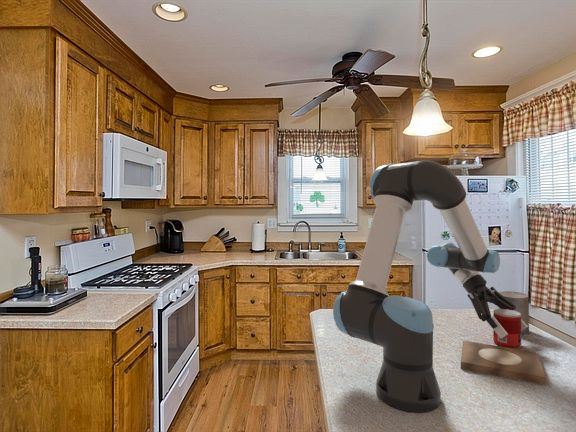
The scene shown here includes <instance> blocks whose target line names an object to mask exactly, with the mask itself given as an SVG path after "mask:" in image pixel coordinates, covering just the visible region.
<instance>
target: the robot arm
mask: <svg viewBox="0 0 576 432" xmlns="http://www.w3.org/2000/svg"><path fill="white" fill-rule="evenodd" d="M369 188H370V189H369V193H370V196H371V197H372V202H373V203H374V205H375V210H374V214H373V217H372V222H371V225H370V229H369V232H368V235H367V238H366V243H365V246H364V249H363V252H362V256H361V260H360V264H359V267H358V270H357V275H356V278H355V280H354V281H351V282H349V284H348V287H347V290H346V291H342V292H340V293H339V295H337V296H336V298H335V300H334V303H333V308H332V315H333V319H334V320H333V321H334V323H335V326H336V328H338V330H339V331H340V332H341V333H343V334H345V335H347V336H349V337H351V338H355V339H359V340H361V341H365V342H368V343H371V344H374V345H377V346H380V347H382V349H383V350H382V352H383V353H382V354H383V359H382V360H383V361H382V363H381V367H380V370H379V372H378V375H377V379H376V382H375V384H376V385H375V391H376V392H375V393H376V395H377V397H378V398H379V399H380V400H381V401H382V402H383V403H385V404H386V405H388V406H389V407H392V408H395V409H398V410H401V411H405V412H410V413H411V412H412V413H424V412H430V411H433V410H436V409H437V408H438V407H439V406H440V405H441V403H442V400H441V399H442V397H441V388H440V386H439V382H438V379H437V376H436V373H435V371H434V366H433V364H434V360H433V359H434V354H433V353H434V329H435V328H434V327H435V325H434V320H433V312H432V310H431V308H430V307H429V306H428V305H427V304H426V303H424V302H423V301H420V300H418V299H416V298H412V297H407V296H399V295H389V293H388V291H387V289H386V288H387V285H388V281H389V276H390V272H391V269H392V265H393V261H394V257H395V254H396V250H397V246H398V242H399V237H400V235H401V229H402V227H403V222H404V217H405V214H406V213H408V212H410V211H411V210H412V207H413V203H414V201H427V202H430V203H431V204H432V206H433V208H434V209H436V210H438V211H439V212H440V214H441V216H442V218H443V220H444V222H445V223H446V225H447V227H448V229H449V231H450V232H451V235H452V237H453V239H454V241H455V243H456V244H454V242H446V243H444V244H442V245H433V246H431V247H430V248H429V249H428V250H427V252H426V260H427V261H428V263H429V264H430V265H432V266H434V267H437V268H448V270H449V271H450V273H452V275H453V276H454V277H455V278H456V279H457V281H458V282H459V283H460V284H461V285H462V287H463V288H464V290H465V292H467V297H468V299H469V300H470V303H471V304H472V306H473V308H474V311H475V313H476V315H477V317H478V318H479V320H481V321H482V322H484V323H485V322H487V323H488V325H489V326H490V327H491V328H492V330H493V329H494V331H495V332H496V333H497V334H498V336H499V337H500V338H503V337H505V336H506V335H508V333H507V332H506V331H505V330H504V328H503V327H502V326H501V325H500V323H499V322H498V321H497V320H496V318H495V317H494V316H493V315H491V314H492V313H491V311H490V307H489V303H490V304H493V305H495V306H497V307H499V308H501V309H507V310H513V311H514V310H515V309H516V307H515V305H513V304H512V303H511V302H510V301H509V300H507V299H506V298H505V297H504V296H502V295H501V294H500V293H499V292H500V291H499V292H498V290H496V288H495V287H494V286H491V287H490V288H489V287H487V286H486V285H487V280H486V278H484V276H482V274H480V272H481V273H483V274H485V273H489V274H495V273H497V272H498V271H499V268H500V264H501V255H500V254H499V252H498V251H496V250H493V249H488V248H487V245H486V243H485V241H484V239H483V237H482V235H481V231H480V230H479V228H478V225H477V224H476V221H475V219H474V217H473V214H472V212H471V211H470V208H469V205H468V203H467V200H466V198H467V192H466V189H465V186H464V185H463V183H462V181H461V180H460V179H459V178H458V177H457V175H456V174H454V172H453V171H451V169H449V168H447V167H446V166H444V165H443V164H440V163H438V162H436V161H433V160H428V159H427V160H426V159H423V160H416V161H409V162H400V163H388V164H386V165H381V166H379V167H377V168H376V169H375V170H374V172H373V173H372V175H371V177H370V180H369ZM456 245H457V246H456ZM527 327H528V326H527V325H526V324H525V322H524V321H523V320H522V319H521V331H522V330H524V329H525V328H527Z"/></svg>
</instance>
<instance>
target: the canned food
mask: <svg viewBox="0 0 576 432" xmlns="http://www.w3.org/2000/svg"><path fill="white" fill-rule="evenodd" d="M493 316H494V317H495V318H496V320H497V321H498V322H499V323H500V325H501V326H502V327H503V328H504V330H505V331H506V332H507V333H508V335H506V336H505V337H503V338H500V337H499V336H498V334H497V333H496V332H495V331H494V329H493V328H492V330H493V333H492V336H493V337H492V339H493V342H494V345H495V344H496V346H501V347H507V348H514V349H519V348H520V347H521V345H522V334H521V313H519V312H517V311H513V310H507V309H498V308H497V309H493V315H492V317H493Z"/></svg>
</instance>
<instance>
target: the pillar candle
mask: <svg viewBox="0 0 576 432" xmlns="http://www.w3.org/2000/svg"><path fill="white" fill-rule="evenodd" d="M499 293H500V294H501V295H502V296H504V297H505V298H506V299H507V300H509V301H510V302H511V303H512V304H513V305H515V307H516V309H515V310H514V311H517V312H519V313H521V319H522V320H523V321H524V322H525V324H526V325H527V326H528V327H527V328H525V329H524V330H522V331H521V335H526V334H529V332H530V319H529V317H530V315H529V313H530V312H529V310H530V309H529V305H530V304H529V294H526V293H523V292H519V291H515V290H513V291H511V290H510V291H509V290H508V291H507V290H506V291H499ZM497 307H498V306H497ZM497 309H501V308H499V307H498V308H497Z"/></svg>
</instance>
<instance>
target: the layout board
mask: <svg viewBox="0 0 576 432" xmlns="http://www.w3.org/2000/svg"><path fill="white" fill-rule="evenodd" d="M460 369H463V370H467V371H473V372H477V373H483V374H488V375H493V376H498V377H504V378H509V379H513V380H519V381H524V382H530V383H534V384H540V385H544V386H547V375H546V372H545V370H544V368H543V365H542V363H541V360H540V358H539V356H538V353H537V351H533V350H526V349H519V348H507V347H502V346H499V345H495V344H488V343H481V342H475V341H469V340H463V341H462V347H461V355H460Z"/></svg>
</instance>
